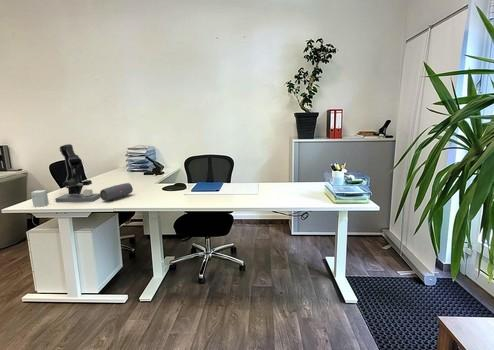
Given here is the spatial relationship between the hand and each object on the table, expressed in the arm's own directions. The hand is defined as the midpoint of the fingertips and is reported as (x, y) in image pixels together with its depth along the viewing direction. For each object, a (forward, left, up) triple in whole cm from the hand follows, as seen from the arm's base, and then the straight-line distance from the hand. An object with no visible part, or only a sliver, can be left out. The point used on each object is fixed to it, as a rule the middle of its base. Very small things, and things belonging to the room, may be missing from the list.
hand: (79, 194), depth 232 cm
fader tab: (0, +7, -1) cm, 7 cm away
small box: (+13, -21, -5) cm, 25 cm away
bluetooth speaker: (-2, +28, -5) cm, 29 cm away
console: (0, -1, -4) cm, 4 cm away
